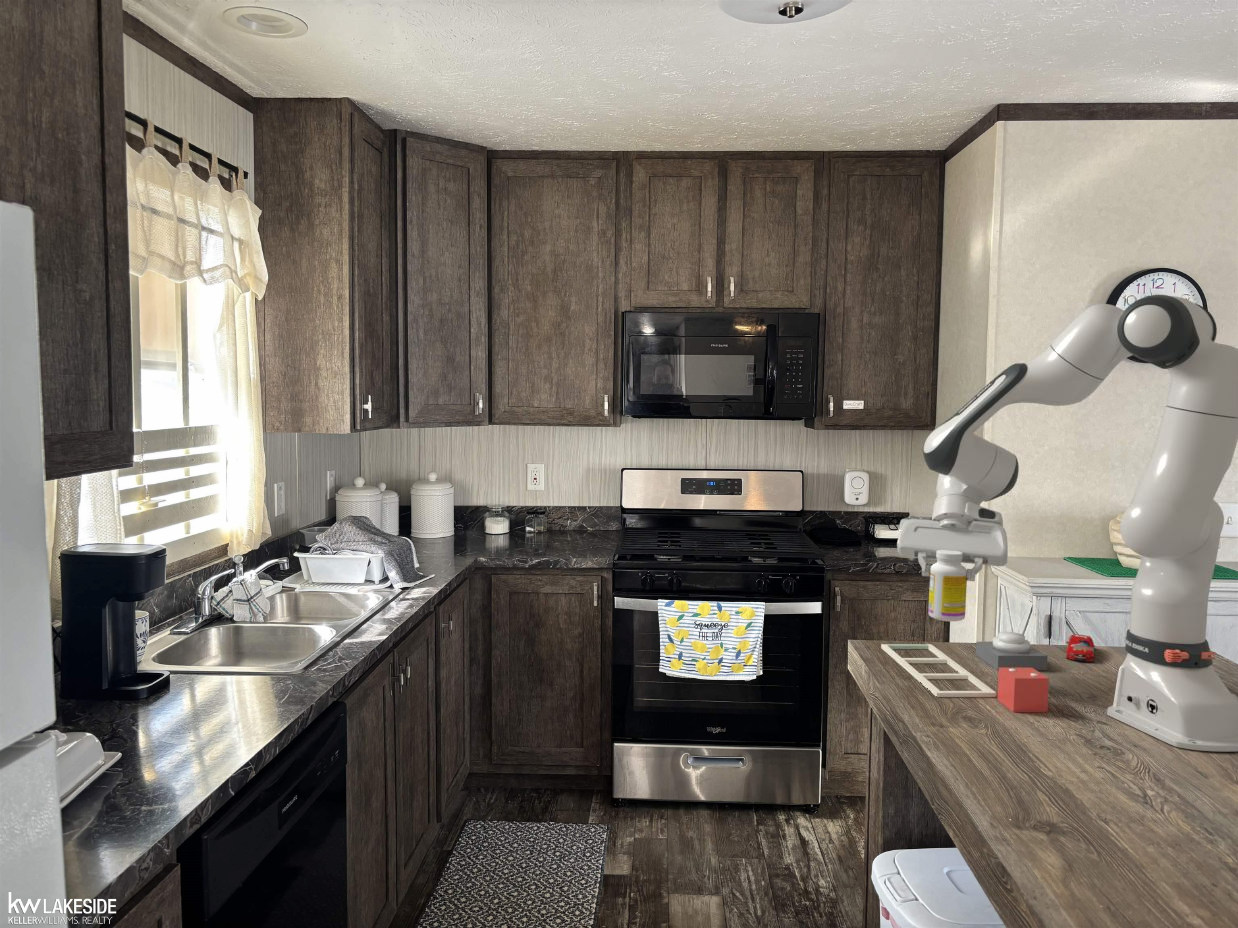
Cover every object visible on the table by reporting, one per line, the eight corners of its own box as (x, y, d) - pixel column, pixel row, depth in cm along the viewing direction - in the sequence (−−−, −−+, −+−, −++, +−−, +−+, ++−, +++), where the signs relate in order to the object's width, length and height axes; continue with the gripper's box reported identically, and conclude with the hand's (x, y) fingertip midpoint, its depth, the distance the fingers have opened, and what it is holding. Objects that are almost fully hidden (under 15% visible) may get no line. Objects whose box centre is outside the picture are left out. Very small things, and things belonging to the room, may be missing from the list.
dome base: (1046, 670, 174) (1047, 655, 174) (997, 670, 174) (998, 655, 173) (1022, 655, 184) (1023, 641, 184) (975, 655, 184) (976, 641, 183)
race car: (1094, 666, 178) (1095, 647, 178) (1064, 662, 181) (1065, 643, 180) (1095, 649, 189) (1096, 632, 189) (1067, 646, 192) (1068, 628, 192)
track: (996, 696, 158) (996, 692, 158) (936, 696, 158) (936, 692, 158) (931, 647, 189) (931, 644, 189) (881, 647, 189) (881, 644, 189)
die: (1047, 711, 151) (1049, 677, 150) (1013, 711, 151) (1014, 677, 150) (1030, 699, 157) (1031, 666, 156) (997, 699, 157) (998, 666, 156)
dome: (1036, 653, 175) (1036, 639, 175) (1002, 653, 175) (1002, 639, 175) (1019, 643, 182) (1020, 630, 182) (986, 643, 182) (987, 630, 182)
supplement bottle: (972, 619, 165) (975, 553, 164) (950, 624, 162) (954, 556, 161) (942, 611, 171) (945, 547, 170) (920, 615, 167) (923, 550, 166)
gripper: (900, 506, 175) (890, 561, 168) (1010, 514, 166) (1005, 573, 159) (902, 524, 180) (892, 580, 172) (1010, 533, 171) (1005, 592, 163)
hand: (947, 577), depth 165 cm, fingers closed on supplement bottle, 7 cm apart
